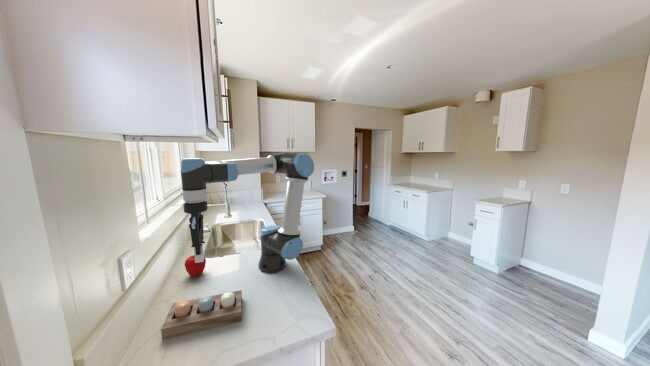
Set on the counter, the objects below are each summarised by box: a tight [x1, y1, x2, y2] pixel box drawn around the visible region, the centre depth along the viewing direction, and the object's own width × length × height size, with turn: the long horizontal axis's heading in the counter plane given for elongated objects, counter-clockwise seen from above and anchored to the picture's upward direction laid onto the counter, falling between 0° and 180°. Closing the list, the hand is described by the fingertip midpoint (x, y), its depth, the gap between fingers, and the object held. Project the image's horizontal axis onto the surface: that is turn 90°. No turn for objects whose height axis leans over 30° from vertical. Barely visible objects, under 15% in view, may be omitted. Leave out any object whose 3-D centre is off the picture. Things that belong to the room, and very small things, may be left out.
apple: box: [184, 254, 207, 278], centre depth 117 cm, size 10×10×11 cm
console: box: [160, 289, 243, 340], centre depth 89 cm, size 14×26×4 cm, turn 109°
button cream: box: [221, 291, 235, 309], centre depth 91 cm, size 5×5×5 cm
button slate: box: [198, 295, 214, 314], centre depth 88 cm, size 5×5×5 cm
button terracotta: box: [174, 300, 191, 319], centre depth 86 cm, size 5×5×5 cm
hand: (199, 261), depth 85 cm, fingers closed
